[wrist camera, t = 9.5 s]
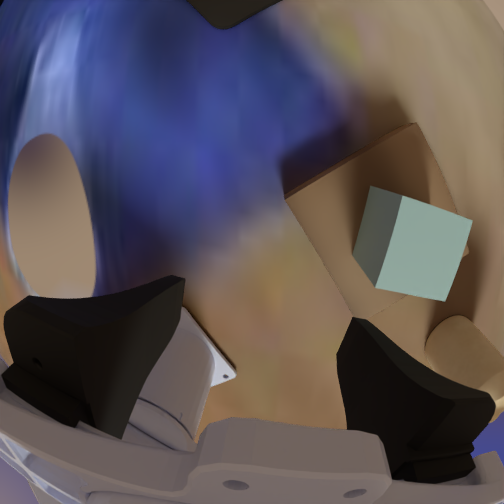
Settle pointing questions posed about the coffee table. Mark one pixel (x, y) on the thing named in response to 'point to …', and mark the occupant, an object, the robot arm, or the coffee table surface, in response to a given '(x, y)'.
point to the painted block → (410, 245)
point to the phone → (229, 10)
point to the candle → (467, 358)
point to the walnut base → (353, 205)
